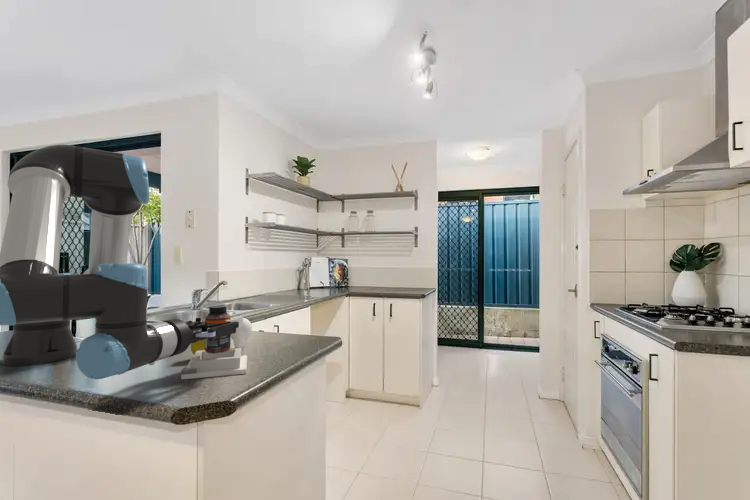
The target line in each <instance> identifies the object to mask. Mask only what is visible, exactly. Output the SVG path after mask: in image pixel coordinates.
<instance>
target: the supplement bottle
mask: <svg viewBox="0 0 750 500" xmlns="http://www.w3.org/2000/svg"><path fill="white" fill-rule="evenodd" d="M208 311H209V313H208V314H207V315H206V316H205V319H204V320H205V324H207V325H212V324H218V323H223V322H226V321H227V320H231V315H230V314H229V313H228V312H227V305H218V304H217V305H211V306H209V309H208ZM231 339H232V338H231V335H226V336H223V337H219V338H216V339H214V340H212V341H208V339H205V351H206V352H207V353H222V352H226V351H228V350H229V349H230V348H231V341H232V340H231Z"/></svg>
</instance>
